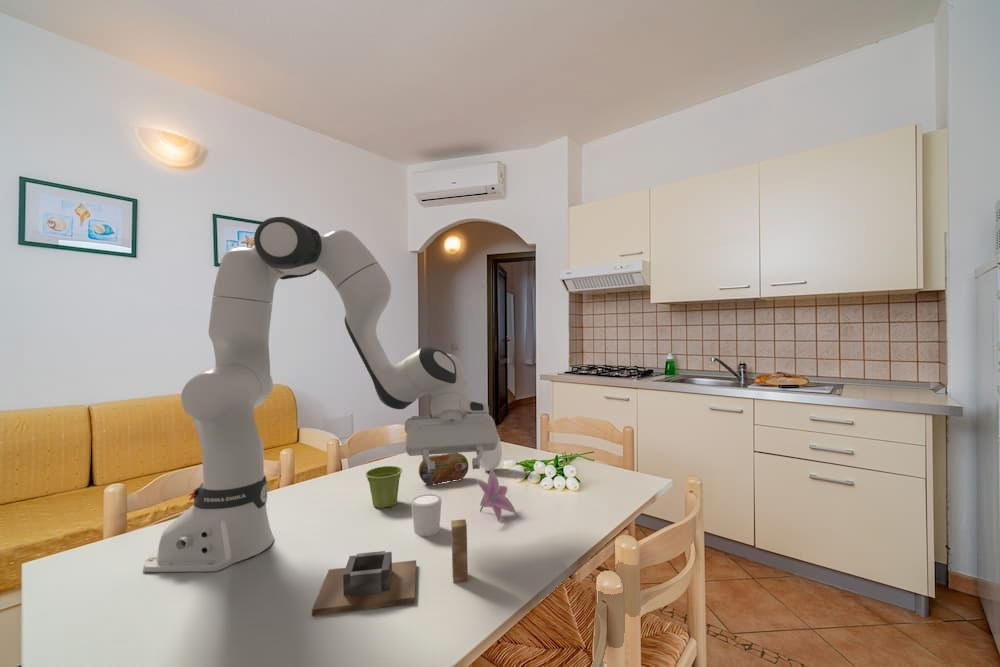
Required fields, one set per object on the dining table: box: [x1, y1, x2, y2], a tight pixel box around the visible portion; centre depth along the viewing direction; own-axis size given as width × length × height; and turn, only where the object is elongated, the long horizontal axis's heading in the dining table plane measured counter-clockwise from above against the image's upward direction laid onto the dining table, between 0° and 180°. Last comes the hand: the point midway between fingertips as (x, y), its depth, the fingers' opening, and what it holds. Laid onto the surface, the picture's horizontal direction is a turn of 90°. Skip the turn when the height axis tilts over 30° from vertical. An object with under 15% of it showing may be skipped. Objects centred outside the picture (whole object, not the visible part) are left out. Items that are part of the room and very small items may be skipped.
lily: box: [476, 469, 517, 522], centre depth 107 cm, size 12×12×10 cm
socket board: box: [311, 550, 417, 617], centre depth 76 cm, size 16×12×4 cm
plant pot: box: [365, 465, 403, 509], centre depth 114 cm, size 9×9×9 cm
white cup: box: [410, 493, 442, 537], centre depth 99 cm, size 7×7×7 cm
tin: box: [418, 453, 469, 486], centre depth 131 cm, size 15×3×8 cm, turn 114°
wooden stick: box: [450, 518, 469, 584], centre depth 79 cm, size 3×3×10 cm
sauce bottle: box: [480, 432, 503, 472], centre depth 140 cm, size 8×8×18 cm
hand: (454, 469), depth 91 cm, fingers open, 8 cm apart
